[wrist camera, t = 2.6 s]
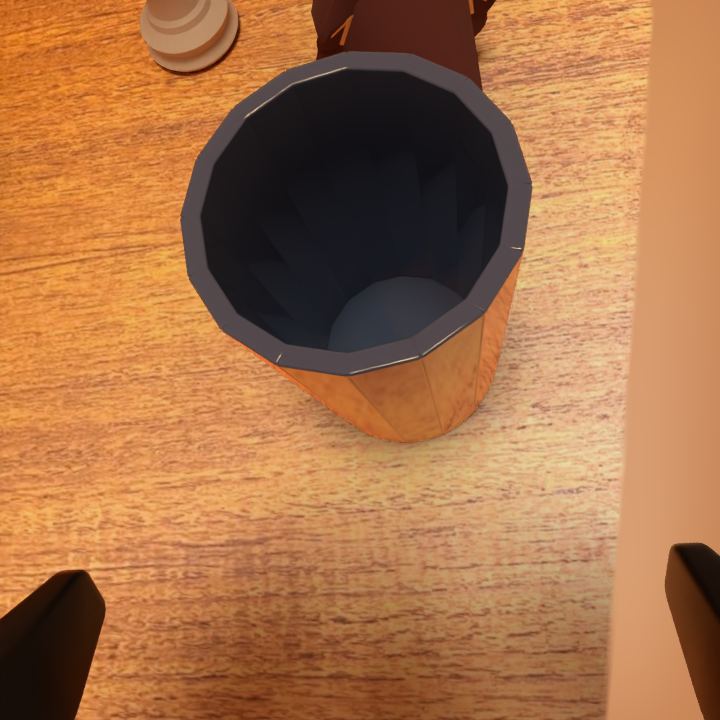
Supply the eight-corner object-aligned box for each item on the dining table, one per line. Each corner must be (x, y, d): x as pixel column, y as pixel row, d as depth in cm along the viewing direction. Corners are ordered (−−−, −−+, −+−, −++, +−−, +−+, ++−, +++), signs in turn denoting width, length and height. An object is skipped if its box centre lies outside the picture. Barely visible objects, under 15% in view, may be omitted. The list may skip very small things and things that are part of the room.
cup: (482, 457, 21) (503, 400, 10) (304, 426, 23) (143, 345, 11) (506, 282, 23) (550, 56, 11) (338, 263, 24) (226, 46, 13)
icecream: (624, 45, 17) (422, -203, 23) (396, 105, 16) (240, -174, 22) (547, 199, 24) (403, -25, 29) (379, 251, 22) (262, 6, 28)
